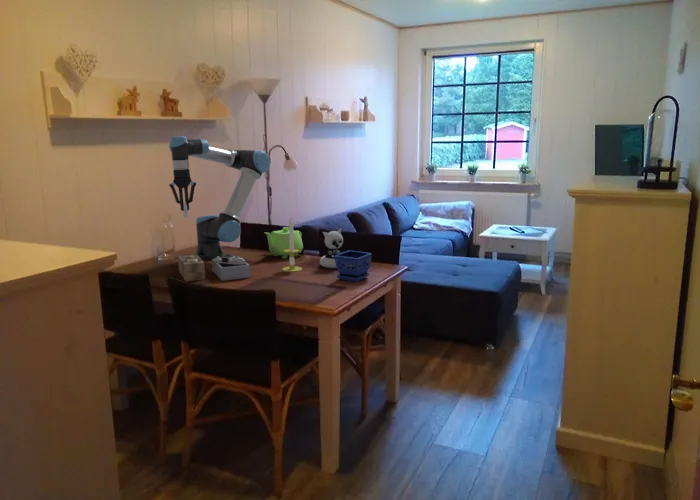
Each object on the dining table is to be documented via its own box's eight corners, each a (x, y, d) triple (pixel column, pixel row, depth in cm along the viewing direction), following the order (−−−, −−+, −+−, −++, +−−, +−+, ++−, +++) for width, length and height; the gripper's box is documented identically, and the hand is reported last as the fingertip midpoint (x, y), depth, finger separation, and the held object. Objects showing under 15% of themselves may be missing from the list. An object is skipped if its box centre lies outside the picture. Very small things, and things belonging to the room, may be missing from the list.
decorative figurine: (324, 270, 276) (323, 230, 272) (316, 263, 290) (315, 225, 286) (352, 267, 281) (352, 229, 277) (343, 261, 295) (343, 224, 290)
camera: (251, 272, 272) (250, 252, 270) (243, 276, 263) (242, 256, 261) (222, 270, 276) (221, 250, 274) (213, 274, 268) (212, 254, 266)
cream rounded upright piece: (197, 273, 267) (196, 258, 265) (199, 275, 262) (198, 260, 261) (186, 274, 264) (185, 259, 263) (188, 277, 260) (187, 261, 258)
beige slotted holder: (197, 269, 278) (196, 253, 276) (205, 279, 260) (204, 261, 258) (178, 271, 274) (177, 255, 272) (185, 281, 256) (184, 263, 255)
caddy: (239, 267, 281) (238, 256, 280) (250, 277, 263) (249, 265, 262) (212, 270, 275) (211, 259, 274) (221, 280, 257) (220, 268, 256)
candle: (305, 268, 280) (304, 215, 275) (295, 272, 272) (294, 218, 266) (288, 266, 285) (287, 214, 279) (278, 270, 276) (276, 216, 270)
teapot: (287, 249, 325) (286, 222, 322) (310, 255, 310) (310, 227, 306) (251, 255, 309) (250, 227, 305) (273, 262, 293) (272, 232, 290)
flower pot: (358, 284, 252) (358, 258, 249) (333, 279, 259) (333, 254, 256) (372, 277, 263) (372, 252, 260) (348, 273, 270) (348, 249, 267)
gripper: (193, 167, 274) (197, 214, 279) (165, 169, 267) (170, 217, 273) (196, 168, 267) (200, 216, 273) (168, 170, 261) (173, 219, 267)
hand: (185, 217), depth 273 cm, fingers closed
